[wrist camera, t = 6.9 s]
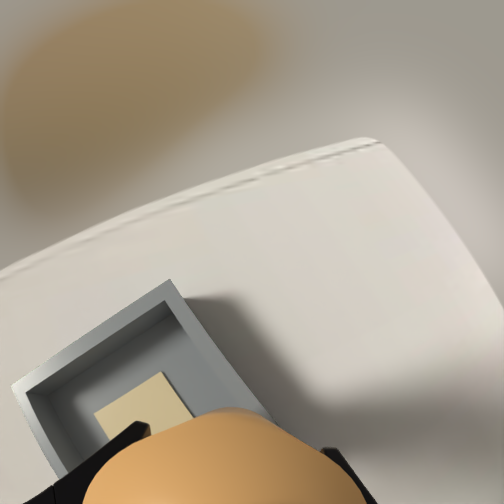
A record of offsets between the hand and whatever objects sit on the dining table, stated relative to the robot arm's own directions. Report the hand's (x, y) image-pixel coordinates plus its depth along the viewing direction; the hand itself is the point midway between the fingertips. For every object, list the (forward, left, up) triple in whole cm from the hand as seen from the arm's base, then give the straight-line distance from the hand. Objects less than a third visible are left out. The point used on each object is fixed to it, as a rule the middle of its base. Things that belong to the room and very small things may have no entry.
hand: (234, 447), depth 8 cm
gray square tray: (+2, +5, -13) cm, 15 cm away
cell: (-1, +1, -7) cm, 7 cm away
